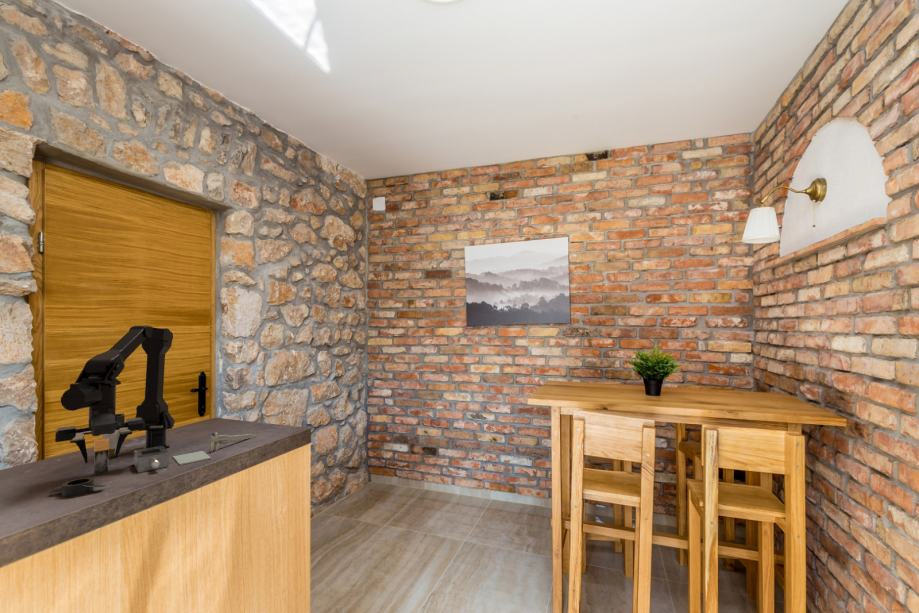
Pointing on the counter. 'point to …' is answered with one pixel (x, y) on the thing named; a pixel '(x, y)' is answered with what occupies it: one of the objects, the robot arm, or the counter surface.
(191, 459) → the rubber mat
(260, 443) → the counter surface
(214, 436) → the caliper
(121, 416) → the robot arm
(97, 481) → the counter surface
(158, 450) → the block
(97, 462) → the orange capped vial
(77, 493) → the dark flanged ring
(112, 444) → the light bulb
